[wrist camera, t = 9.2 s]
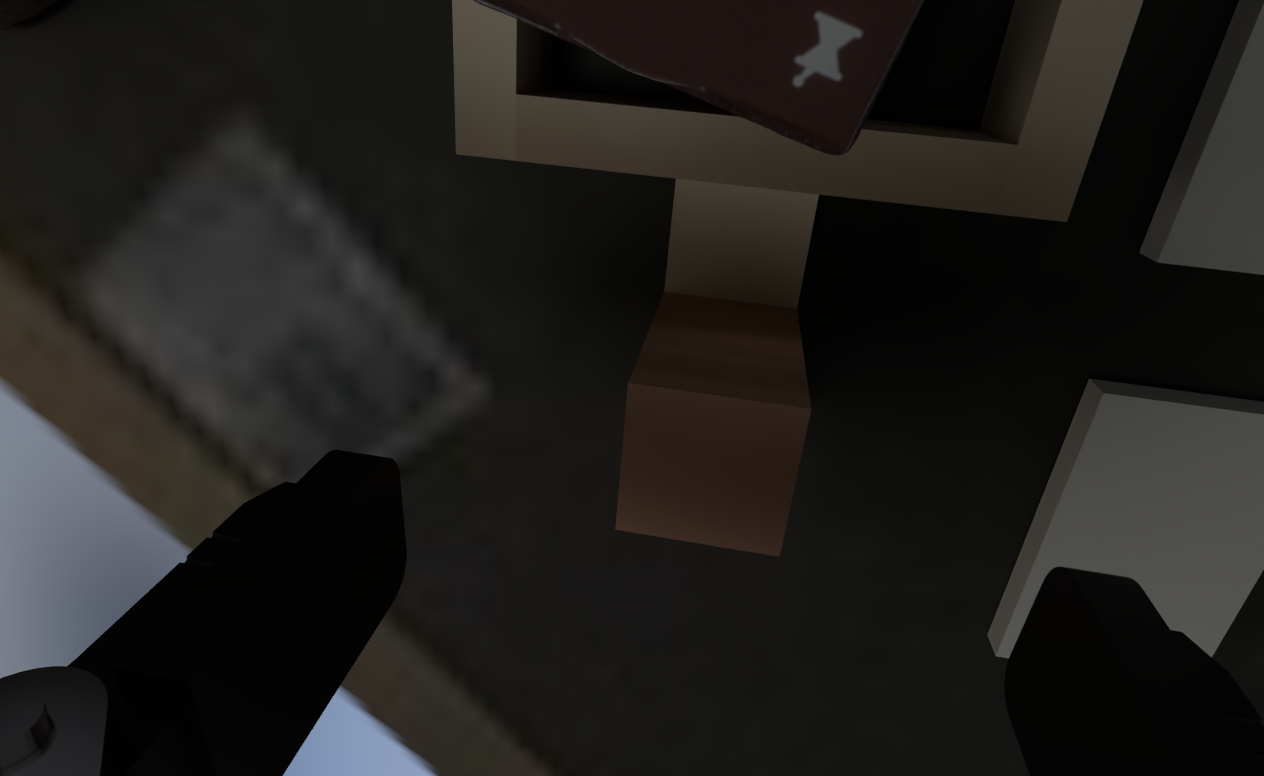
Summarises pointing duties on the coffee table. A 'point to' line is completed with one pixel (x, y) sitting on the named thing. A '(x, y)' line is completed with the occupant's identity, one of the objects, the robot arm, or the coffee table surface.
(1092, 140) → the wooden open tray
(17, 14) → the pillar candle
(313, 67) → the coffee table surface
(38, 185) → the coffee table surface
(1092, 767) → the robot arm
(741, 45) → the box
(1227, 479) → the pair of grey tiles
